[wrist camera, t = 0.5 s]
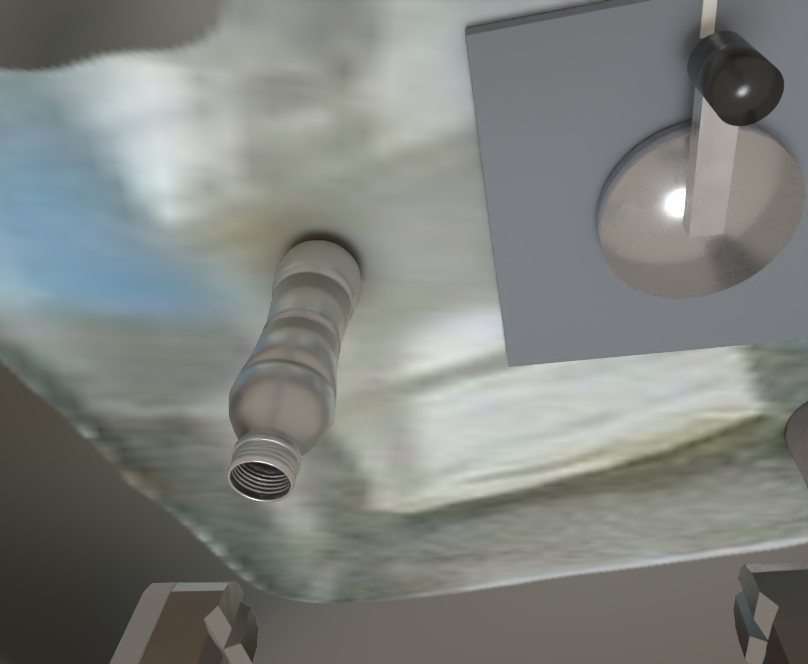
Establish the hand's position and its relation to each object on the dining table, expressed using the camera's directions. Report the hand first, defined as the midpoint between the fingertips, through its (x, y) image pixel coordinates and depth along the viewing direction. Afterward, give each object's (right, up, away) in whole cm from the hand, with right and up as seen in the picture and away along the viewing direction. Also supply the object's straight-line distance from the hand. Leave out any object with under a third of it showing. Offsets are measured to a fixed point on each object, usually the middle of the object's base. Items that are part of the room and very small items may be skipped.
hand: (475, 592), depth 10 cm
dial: (+17, +14, +29) cm, 37 cm away
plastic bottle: (-7, +9, +38) cm, 40 cm away
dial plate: (+18, +14, +32) cm, 39 cm away
